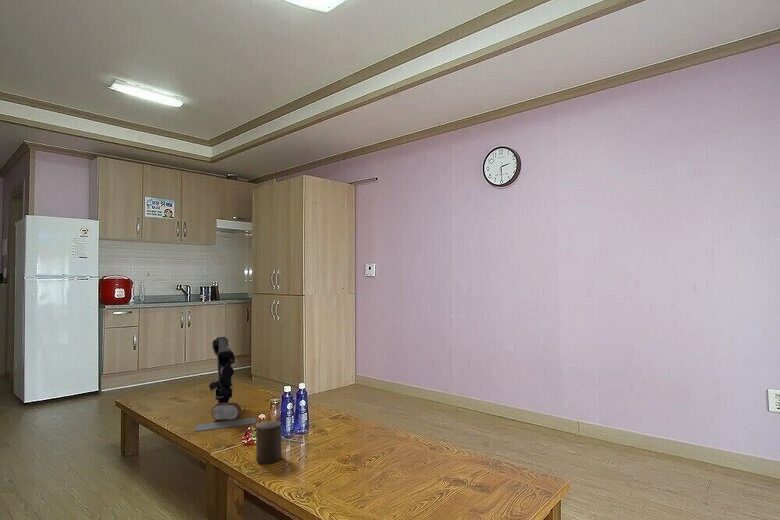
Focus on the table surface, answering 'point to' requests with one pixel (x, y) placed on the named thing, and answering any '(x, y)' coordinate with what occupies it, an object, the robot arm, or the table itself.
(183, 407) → the table surface
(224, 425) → the mat
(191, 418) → the table surface
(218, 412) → the tin
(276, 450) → the pillar candle
